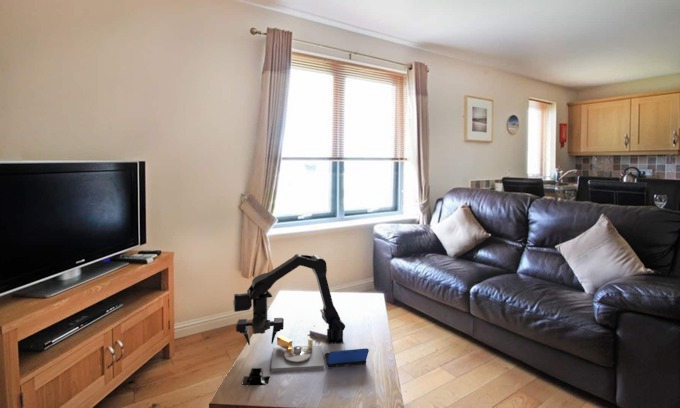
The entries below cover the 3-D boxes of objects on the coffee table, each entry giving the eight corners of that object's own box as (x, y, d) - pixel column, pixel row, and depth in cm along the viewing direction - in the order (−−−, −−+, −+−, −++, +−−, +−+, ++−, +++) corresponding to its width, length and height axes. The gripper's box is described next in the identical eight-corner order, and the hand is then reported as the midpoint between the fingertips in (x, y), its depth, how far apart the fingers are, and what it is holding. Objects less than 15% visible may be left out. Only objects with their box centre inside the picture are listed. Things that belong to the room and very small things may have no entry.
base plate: (321, 348, 155) (321, 335, 154) (324, 369, 140) (324, 354, 139) (273, 351, 152) (273, 337, 152) (271, 372, 138) (271, 357, 137)
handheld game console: (361, 352, 153) (361, 331, 152) (369, 371, 140) (369, 348, 139) (323, 355, 150) (324, 334, 149) (328, 374, 137) (329, 351, 136)
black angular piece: (236, 388, 129) (236, 376, 128) (241, 376, 136) (240, 364, 135) (271, 388, 129) (271, 375, 129) (274, 375, 136) (274, 364, 136)
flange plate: (309, 344, 155) (309, 333, 154) (311, 362, 142) (311, 350, 141) (277, 345, 153) (277, 335, 153) (275, 364, 140) (275, 352, 139)
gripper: (233, 317, 139) (234, 356, 141) (282, 315, 142) (283, 353, 144) (237, 305, 150) (238, 341, 152) (283, 304, 152) (283, 339, 155)
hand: (260, 344), depth 150 cm, fingers open, 9 cm apart
